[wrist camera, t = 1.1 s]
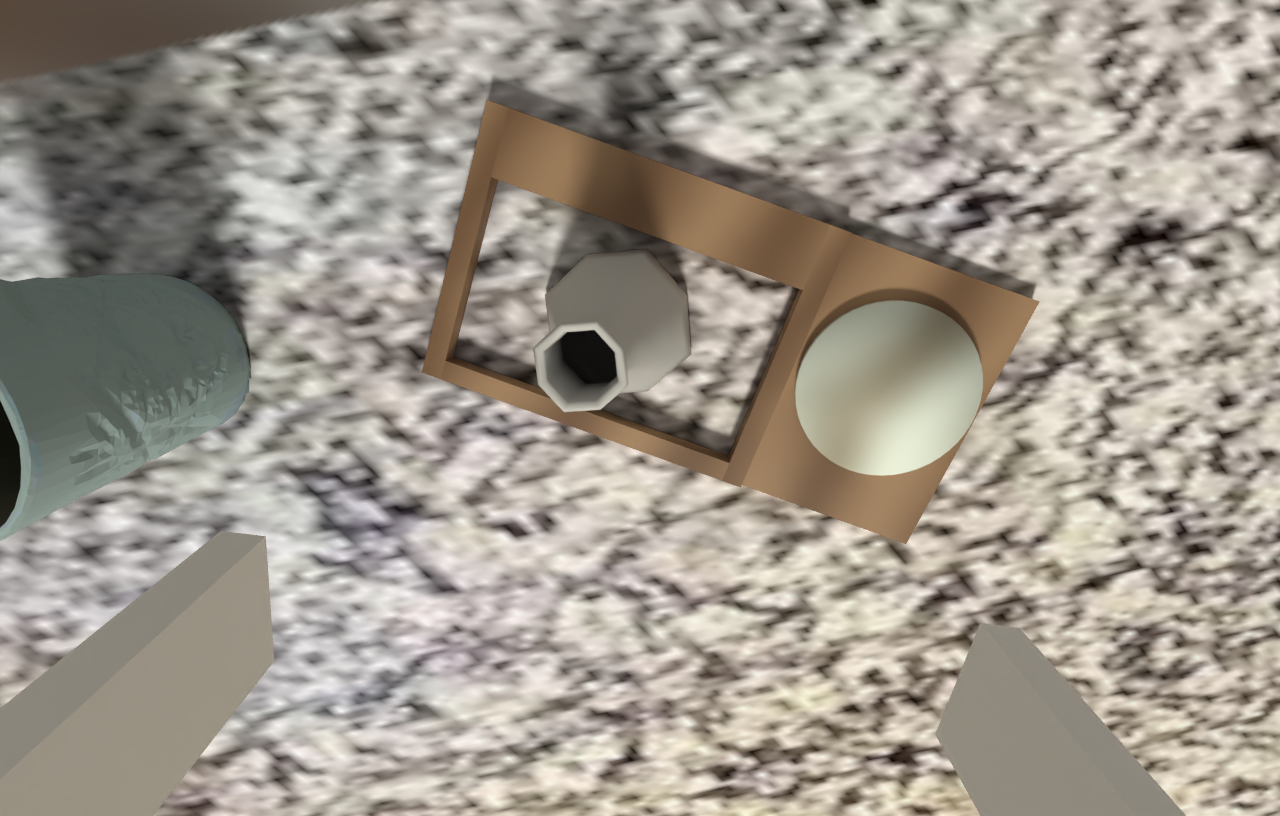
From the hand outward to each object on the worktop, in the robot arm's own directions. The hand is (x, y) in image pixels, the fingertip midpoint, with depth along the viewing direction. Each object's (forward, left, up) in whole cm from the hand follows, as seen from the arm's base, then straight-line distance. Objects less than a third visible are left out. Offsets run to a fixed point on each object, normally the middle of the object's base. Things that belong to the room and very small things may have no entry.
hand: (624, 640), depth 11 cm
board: (-1, -3, -20) cm, 20 cm away
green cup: (+25, +8, -20) cm, 33 cm away
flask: (+3, -2, -20) cm, 20 cm away
